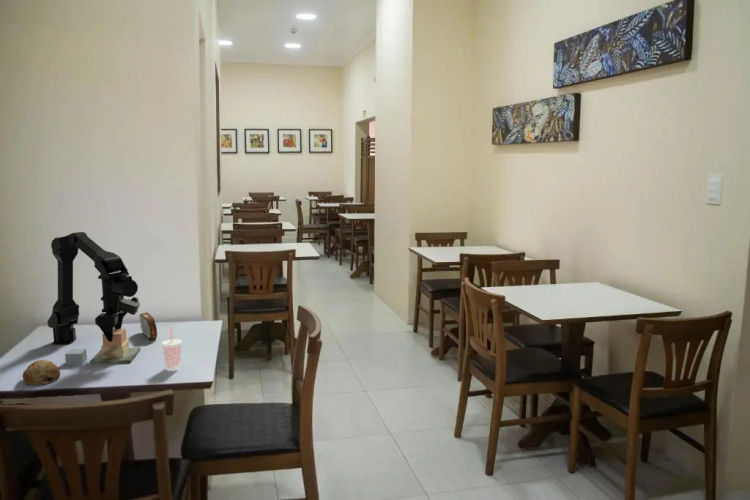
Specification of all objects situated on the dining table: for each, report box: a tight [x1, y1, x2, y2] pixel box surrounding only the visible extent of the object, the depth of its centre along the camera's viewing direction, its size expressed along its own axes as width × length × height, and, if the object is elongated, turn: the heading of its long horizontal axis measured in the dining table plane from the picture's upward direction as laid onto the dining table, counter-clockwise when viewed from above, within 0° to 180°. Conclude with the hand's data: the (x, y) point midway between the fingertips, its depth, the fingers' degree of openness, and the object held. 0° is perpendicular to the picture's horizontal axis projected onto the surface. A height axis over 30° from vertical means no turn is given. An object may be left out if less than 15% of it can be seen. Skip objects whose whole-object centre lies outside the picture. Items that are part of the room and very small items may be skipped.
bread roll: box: [22, 359, 61, 386], centre depth 190 cm, size 10×10×8 cm
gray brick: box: [64, 348, 88, 366], centre depth 206 cm, size 5×5×4 cm
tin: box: [139, 311, 158, 340], centre depth 234 cm, size 15×3×8 cm, turn 34°
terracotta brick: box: [101, 328, 128, 346], centre depth 210 cm, size 6×6×4 cm
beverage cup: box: [161, 326, 182, 372], centre depth 200 cm, size 6×6×14 cm
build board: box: [89, 339, 141, 365], centre depth 211 cm, size 13×13×5 cm
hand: (114, 337), depth 210 cm, fingers open, 9 cm apart
